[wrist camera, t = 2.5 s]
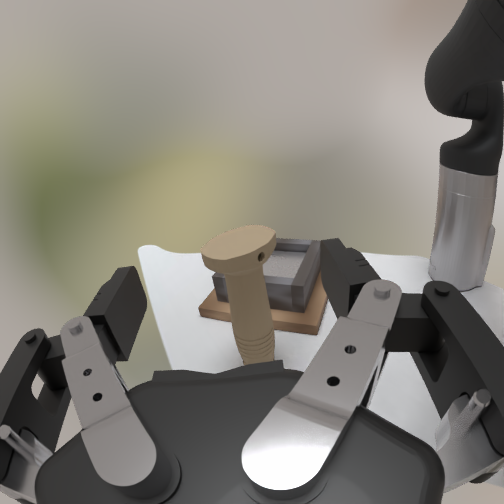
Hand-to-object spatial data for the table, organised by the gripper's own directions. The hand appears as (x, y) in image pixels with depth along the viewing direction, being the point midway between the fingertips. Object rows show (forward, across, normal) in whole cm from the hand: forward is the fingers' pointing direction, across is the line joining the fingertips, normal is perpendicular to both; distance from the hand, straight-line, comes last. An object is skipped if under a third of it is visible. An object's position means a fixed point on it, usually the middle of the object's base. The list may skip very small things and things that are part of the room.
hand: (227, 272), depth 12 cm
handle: (+11, 0, +19) cm, 22 cm away
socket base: (+25, -3, +18) cm, 32 cm away
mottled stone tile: (+25, -3, +15) cm, 30 cm away
